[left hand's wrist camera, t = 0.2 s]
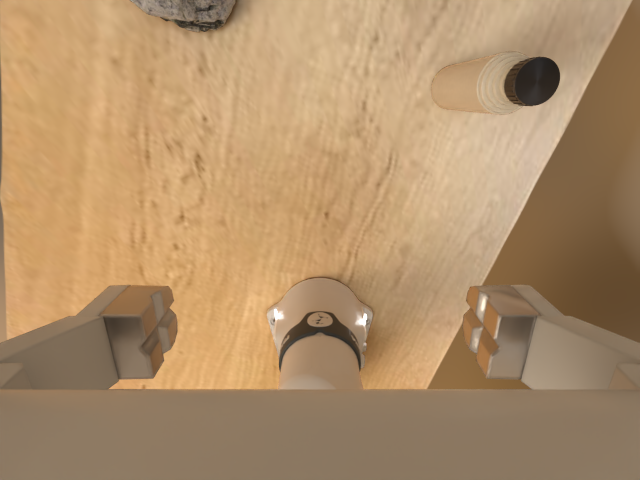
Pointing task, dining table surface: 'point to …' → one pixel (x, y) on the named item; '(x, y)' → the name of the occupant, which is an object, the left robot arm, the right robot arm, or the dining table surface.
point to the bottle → (476, 84)
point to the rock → (190, 12)
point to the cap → (532, 81)
